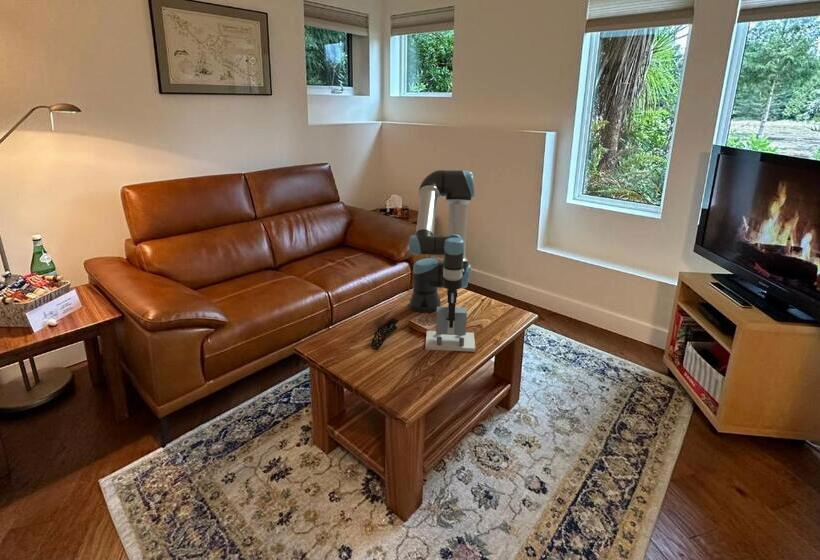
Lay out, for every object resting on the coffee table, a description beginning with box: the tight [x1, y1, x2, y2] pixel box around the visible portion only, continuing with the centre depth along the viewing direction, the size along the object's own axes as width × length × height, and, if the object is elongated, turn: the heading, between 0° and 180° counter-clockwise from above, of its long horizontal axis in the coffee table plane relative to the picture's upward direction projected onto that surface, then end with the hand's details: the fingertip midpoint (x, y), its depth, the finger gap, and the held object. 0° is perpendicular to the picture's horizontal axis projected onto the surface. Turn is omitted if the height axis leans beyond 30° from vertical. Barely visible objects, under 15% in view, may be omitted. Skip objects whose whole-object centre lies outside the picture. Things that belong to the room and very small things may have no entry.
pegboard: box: [424, 330, 476, 353], centre depth 192 cm, size 20×13×4 cm, turn 86°
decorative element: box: [370, 317, 399, 351], centre depth 196 cm, size 22×5×6 cm, turn 161°
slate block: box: [435, 306, 468, 335], centre depth 189 cm, size 12×5×10 cm, turn 86°
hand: (450, 330), depth 191 cm, fingers closed on slate block, 5 cm apart
